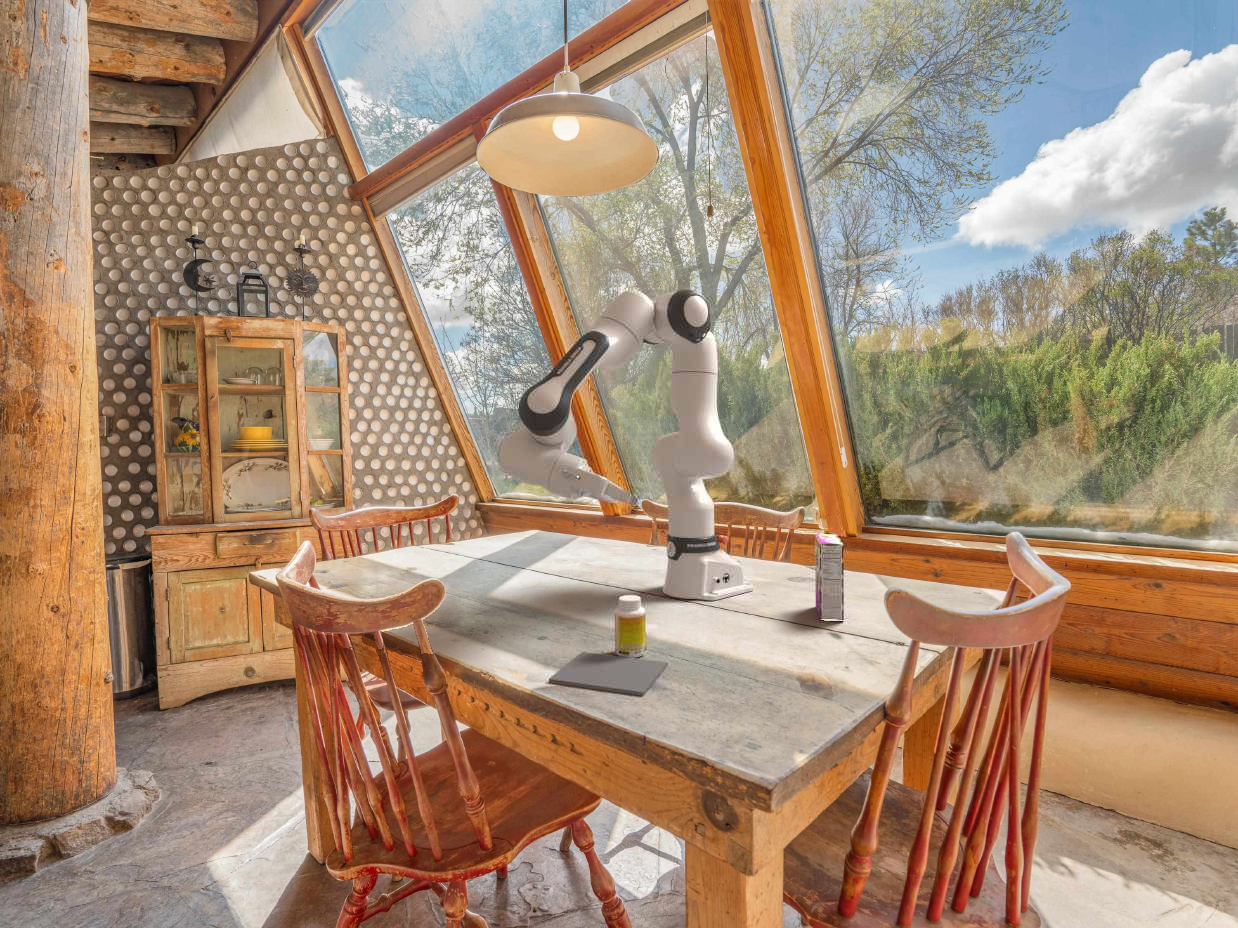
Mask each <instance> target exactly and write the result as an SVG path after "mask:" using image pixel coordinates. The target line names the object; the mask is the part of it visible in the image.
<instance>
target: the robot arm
mask: <svg viewBox="0 0 1238 928" xmlns="http://www.w3.org/2000/svg"><path fill="white" fill-rule="evenodd" d="M710 329H711V311H710V306H709V302H708V300H707V299H706V298H705V295H703V294H702V293H701V291H697V290H695V289H679V290H677V291H671V292H667V293H663V294H660V295H659V296H655V297H654V298H651V299H650V297H649V296H647V295H646V294H645V293H643V292H642V291H639V290H636V289H628V290H624V291H622V292H621V293H620V294H619V295H618V296H617V297H615V298H614V300H612V302H611V303H610V304H608V305H607V307H606V308H605V309H604V311H603V312H602V313H601V314H600V315H599V317H598V318H597V320H596V321H595V322H594V324H593V325H592V326H591V327H590V329H589V330H588V331H587V332H586V333H585V334H583V335H582V336H581V337H580V338H579V339H578V340H577V341H576V342H575V343H574V344H573V345H572V346H571V347H570V349H569V350H568V351H567V352H566V353H565V354H564V356H563V357H562V358H561V359H560V360H559V361H558V362H557V364H556V365H554V367H553V368H552V369H551V371H549V373H548V374H547V375H546V376H545V377H544V378H542V379H541V380H539V381H538V382H536V383H535V384H533V385H531V386H530V387H529V388H527V389H526V391H524V393H523V394H522V396H521V397H520V400H519V403H518V408H517V411H518V417H519V419H520V421H522V423H523V426H522V427H521V428H519V429H518V430H516V431H514V432H512V433H511V434H508V435H507V434H506V435H505V436H504V437H502V440H501V441H500V444H499V447H498V451H497V456H498V457H497V462H498V465H499V468H500V469H501V470H502V472H503V473H505V474H507V476H510V477H512V478H514V479H516V480H518V481H520V482H522V483H526V484H528V485H530V486H537V487H541V488H543V489H545V490H546V491H547V492H549V493H552V494H555V495H557V496H559V497H562V498H564V499H568V500H570V501H572V500H574V499H576V498H577V499H578V498H583V497H585V498H591V499H593V500H594V499H595V500H598V501H603V502H606V503H611V504H618V503H619V502H620V503H624V504H629V505H632V506H634V507H635V506H637V505H638V503H639V497H637V496H634V495H633V494H632V493H631V492H629V491H627V490H625V489H623V488H622V487H621V486H619V485H617V484H615V483H614V482H612V481H611V480H610V479H607V478H606V477H604V476H602V475H599V474H597V473H595V472H594V471H593V469H592V467H591V466H590V465H589V464H588V460H587V459H586V458H583V457H581V456H578V455H574V454H572V453H569V451H570V449H571V448H572V446H573V444H574V443H575V441H576V439H577V435H578V434H577V433H578V428H577V423H576V420H575V417H574V415H573V412H572V401H573V396H574V394H575V393H577V391H578V389H579V388H580V387H581V386H582V385H583V383H584V382H585V381H586V379H587V378H588V377H589V376H590V374H591V373H592V372H593V371H594V370H595V369H596V368H598V369H600V370H603V371H607V372H613V371H618V370H622V368H624V367H625V366H626V365H627V364H628V363H629V361H630V360H631V359H632V358H633V357H634V356H635V354H636V353H637V351H638V349H639V348H640V347H641V345H642V343H645V344H648V345H653V346H654V345H656V346H657V345H660V344H668V345H669V346H670V349H671V352H672V365H671V375H670V376H671V379H670V380H671V381H670V396H669V397H670V401H669V405H670V408H671V410H672V412H674V413H675V415H676V418H677V421H678V424H679V431H675V432H674V431H673V432H670V433H667V434H664V435H662V436H660V437H658V438H657V439H656V440H655V442H653V445H652V448H651V450H650V451H651V455H650V456H651V460H652V463H653V464H654V466H655V468H656V469H657V471H658V472H659V475H660V477H661V480H662V481H661V482H662V483H663V488H664V491H665V495H666V502H667V516H668V518H667V519H668V520H667V521H668V533H667V534H666V555H667V566H666V573H665V579H664V584H663V588H662V593H664V594H665V595H667V596H669V597H674V598H680V599H685V600H687V599H690V600H692V599H693V600H695V599H696V600H705V601H717V600H721V599H725V598H729V597H732V596H736V595H740V594H743V593H748V592H751V591H752V592H753V591H754V585H753V584H752V583H750V582H749V581H746V580H745V578H744V571H743V568H742V565H741V563H739V561H737V560H736V559H734V558H733V557H732V556H730V555H729V554H728V553H726V552H725V551H724V550H723V549H721V545H720V544H723V545H728V543H729V539H730V538H729V537H728V536H726V535H722V534H721V535H717V534H716V533H715V504H714V501H713V499H712V498H711V496H710V495H709V494H708V492H707V489H706V488H705V484H704V481H703V480H711V479H714V478H715V479H716V478H718V477H719V478H720V477H722V476H724V475H727V473H728V472H729V471H730V470H731V469H732V467H733V464H734V460H735V453H734V451H735V450H734V447H733V445H732V443H731V442H730V441H729V439H727V436H725V434H724V432H723V429H722V426H721V422H720V418H719V414H718V377H719V375H718V374H719V373H718V372H719V368H718V366H719V365H718V350H717V343H716V342H717V341H716V338H715V335H714V334H713V333H712V332H711V331H710Z"/></svg>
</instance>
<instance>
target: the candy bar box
mask: <svg viewBox="0 0 1238 928" xmlns="http://www.w3.org/2000/svg"><path fill="white" fill-rule="evenodd" d="M844 546H845V545H844V543H843V542H842V540H841V538H840V537H839V536H838V535H837V534H829V533H823V534H822V533H817V534H814V562H815V563H814V564H815V565H814V567H815V569H814V571H815V572H814V573H815V577H814V579H815V584H814V585H815V608H816V611H817V610H818V611H817V613H819V614H818V617H819V616H820V617H819V620H820V619H837V620H844V621H845V617H844V615H845V612H844V610H845V609H844V608H845V604H844V603H845V601H844V600H845V593H844V590H845V588H844V585H845V584H844V581H845V579H844V577H845V575H844V574H845V573H844V572H845V571H844V568H845V566H844V565H845V564H844V563H845V562H844Z"/></svg>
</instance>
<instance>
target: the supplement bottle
mask: <svg viewBox="0 0 1238 928" xmlns="http://www.w3.org/2000/svg"><path fill="white" fill-rule="evenodd" d="M613 613H614V617H613V618H614V652H615V654H616V656H621V657H629V658H639V657H642V656H644V655H645V654H646V651H647V646H646V645H647V638H646V637H647V634H646V633H647V632H646V610H645V607H643V606H642V598H641V597H640V596H638V595H634V594H627V595H626V594H625V595H622V596H619V598H618V607H616V608H615V609H614V612H613Z"/></svg>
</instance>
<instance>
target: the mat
mask: <svg viewBox="0 0 1238 928" xmlns="http://www.w3.org/2000/svg"><path fill="white" fill-rule="evenodd" d="M668 664H669V663H668V661H660V660H652V659H645V658H644V659H643V658H638V657H636V658H629V657H621V656H618V655H610V654H604V653H603V654H602V653H595V652H587V651H586V652H585V651H581V652H580V653H579V654H578V655H576V656H575V657H574V658H573V659H572V660H570V661H569V662H568V663H566V664H565V665H564V666H563V667H561V668H560V669H559V670H558V671H557V672H555V673H554V674H553V675H552V676H551V677H549V678H548V682H549V683H551V684H557V685H564V686H569V687H570V686H571V687H579V688H585V689H591V690H592V689H593V690H598V691H605V692H612V693H620V694H626V695H627V694H628V695H634V696H639V697H644V696H645V695H646V693H647V692H648V691H649V689H650V688H651V687H652V686H653V684H654V683H655V682H656V681H657V680H658V678H659V677H660V676H661V675H662V673H664V671H665V670H666V668H667V667H668V666H669V665H668ZM549 683H548V684H549Z"/></svg>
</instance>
